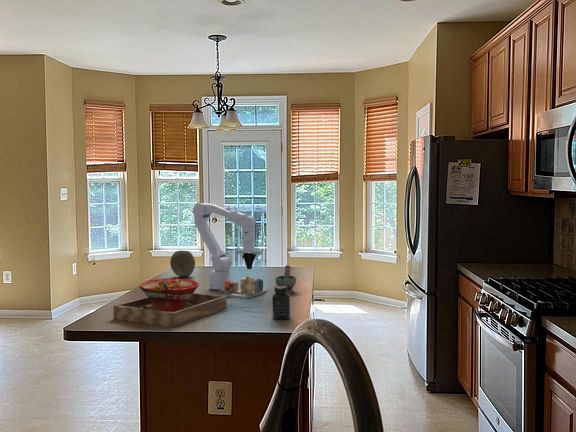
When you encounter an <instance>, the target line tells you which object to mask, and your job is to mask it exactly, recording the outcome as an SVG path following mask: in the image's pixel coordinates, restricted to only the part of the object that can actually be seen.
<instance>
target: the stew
mask: <svg viewBox="0 0 576 432" xmlns="http://www.w3.org/2000/svg"><path fill="white" fill-rule="evenodd" d="M199 286H200V283H199V281H197V280H193V279H190V278H189V279H185V278H184V279H183V278H164V277H163V278H159V279H152V280H151V279H150V280H146V281H144V282H141V283H140V284H139V288H140V290H141V291H143V293H144V294H145V296H146V297H149V298H150V299H151V301H152V303H150V304H146V305H143V306H142V307H139V308H142V309H150V310H158V311H166V312H176V311H179V310H182V309H185V308H188V307H187V306H189V305H190V307H192V306H195V305H192V304H190V303H186V302H187V301H188V300H189V299H190V297H191V296H192V294H193V293H195V291H196V290H197V289H198V288H199Z"/></svg>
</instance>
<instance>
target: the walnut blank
mask: <svg viewBox="0 0 576 432" xmlns="http://www.w3.org/2000/svg"><path fill="white" fill-rule="evenodd" d="M230 290H232V293H233V294H234V292H235V291H238V290H239V281H237V280H233V281H232V280H231V281H230Z"/></svg>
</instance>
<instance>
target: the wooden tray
mask: <svg viewBox="0 0 576 432" xmlns="http://www.w3.org/2000/svg"><path fill="white" fill-rule="evenodd" d="M227 299H228V297H227V296H220V294H219V295H217V294H208V293H199V292H194V293H193V294H192V296H191V297H190V299H189V300H188V301H187V302H186V303H190V304H192V305H194V306H192V307H191V306H189V307H187V308H185V309H182V310H179V311H176V312H166V311H158V310H150V309H142V308H139V307H142V306H143V305H146V304H150V303H152V301H151V299H150V298H149V297H148V296H146V297H141V298H138V299H134V300H130V301H127V302H126V301H125V302H122V303H117V304H113V307H112V308H113V319H114V320H121V321H127V320H128V322H134V321H135V322H134V323H141V322H142V324H148V325H149V324H150V325H156V326H161V325H162V326H164V327H168V326H169V328H175V326H176V327H178V325H179V326H181V324H182V325H184V324H187V323H190V322H192V320H193V321H195V320H194V319H196V320H198V319H200V317H201V318H203V316H204V317H206V316H205V315H207V316H208V315H212V314H214V313H218V312H221V311H223V310H226V309H228V304H227V302H228V300H227ZM211 313H212V314H211ZM197 318H198V319H197ZM189 321H190V322H189ZM186 322H187V323H186Z"/></svg>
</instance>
